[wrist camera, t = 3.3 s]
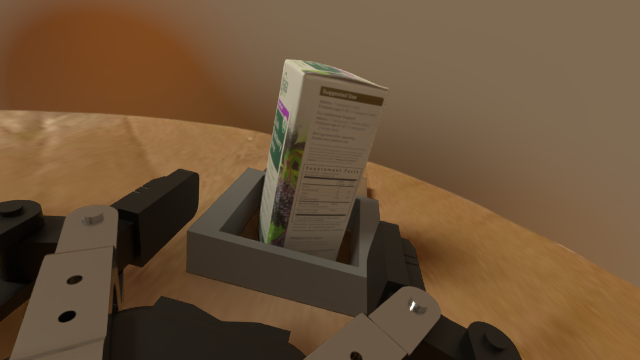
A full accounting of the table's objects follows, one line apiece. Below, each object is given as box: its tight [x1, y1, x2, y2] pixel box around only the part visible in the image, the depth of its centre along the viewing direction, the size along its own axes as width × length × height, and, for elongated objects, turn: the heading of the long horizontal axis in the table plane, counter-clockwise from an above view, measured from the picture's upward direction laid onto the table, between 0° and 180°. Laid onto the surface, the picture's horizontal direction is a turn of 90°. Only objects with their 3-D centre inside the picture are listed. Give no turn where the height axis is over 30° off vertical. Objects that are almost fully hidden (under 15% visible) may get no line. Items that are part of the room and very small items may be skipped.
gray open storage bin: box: [186, 168, 380, 317], centre depth 24 cm, size 13×11×4 cm
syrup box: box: [258, 59, 389, 261], centre depth 22 cm, size 6×6×14 cm
